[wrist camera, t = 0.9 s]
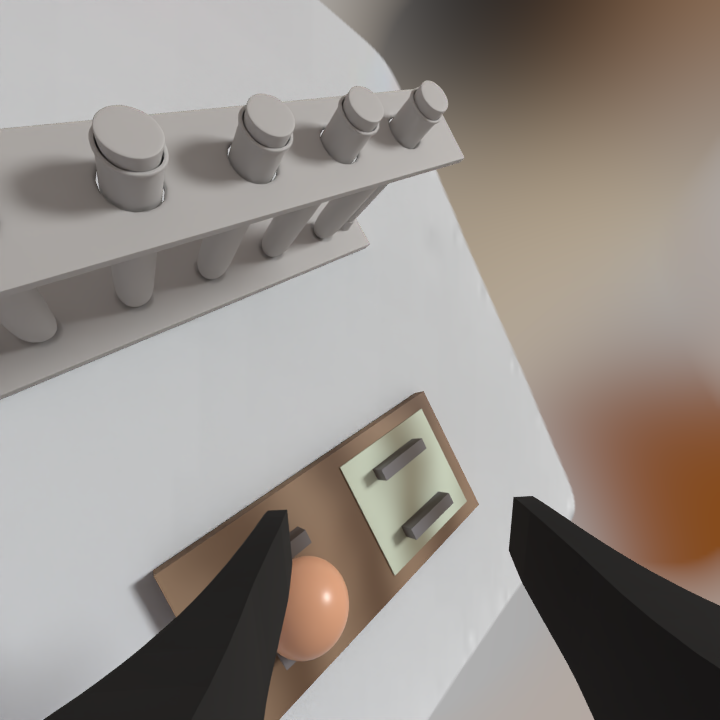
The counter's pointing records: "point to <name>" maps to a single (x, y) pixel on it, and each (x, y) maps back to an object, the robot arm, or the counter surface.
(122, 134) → the test tube rack
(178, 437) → the counter surface
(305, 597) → the terracotta ball
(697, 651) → the robot arm
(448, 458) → the cradle board
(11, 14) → the counter surface
